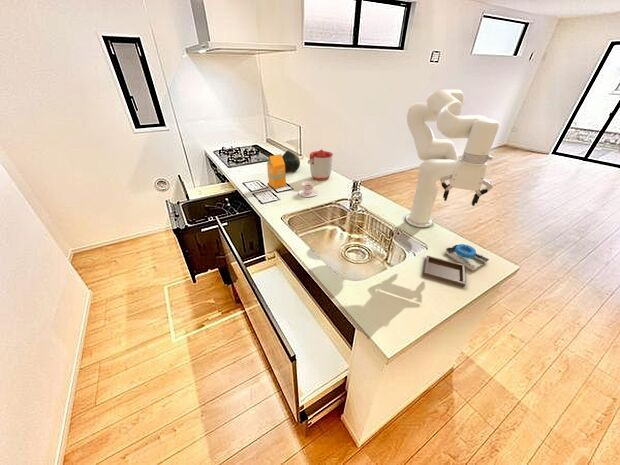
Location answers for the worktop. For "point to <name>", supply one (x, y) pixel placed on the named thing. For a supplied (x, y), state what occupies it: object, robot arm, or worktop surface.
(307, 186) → the teacup
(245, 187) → the worktop surface
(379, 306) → the worktop surface
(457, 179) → the robot arm
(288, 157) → the squash
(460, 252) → the ring
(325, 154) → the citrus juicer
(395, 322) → the worktop surface
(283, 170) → the orange juice
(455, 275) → the tray
